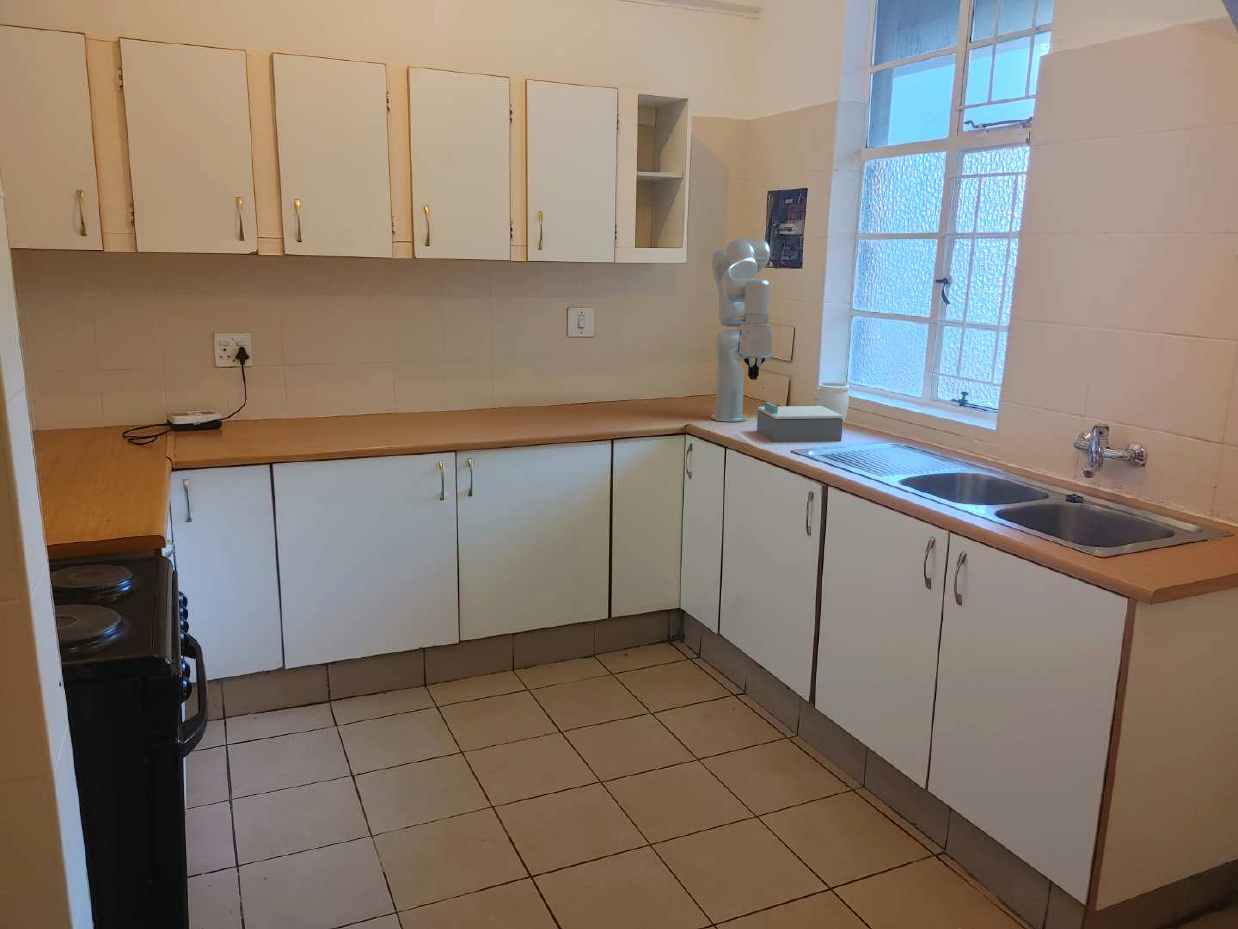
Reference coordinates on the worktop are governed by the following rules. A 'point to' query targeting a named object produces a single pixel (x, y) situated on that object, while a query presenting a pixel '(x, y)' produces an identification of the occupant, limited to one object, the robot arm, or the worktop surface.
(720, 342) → the robot arm
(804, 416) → the lid
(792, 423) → the storage box
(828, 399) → the jar
